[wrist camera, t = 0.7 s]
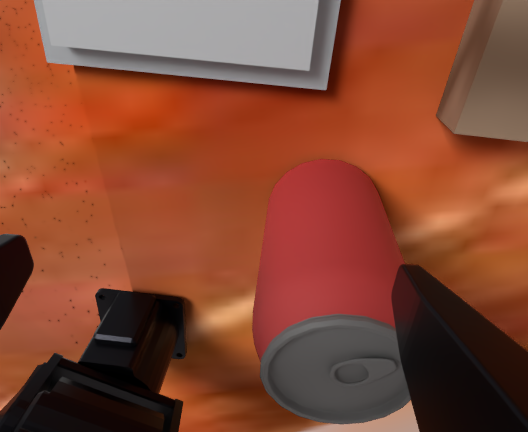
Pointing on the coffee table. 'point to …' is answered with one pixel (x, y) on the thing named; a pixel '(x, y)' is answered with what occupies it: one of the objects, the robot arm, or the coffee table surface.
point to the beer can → (328, 297)
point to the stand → (196, 38)
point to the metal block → (490, 74)
